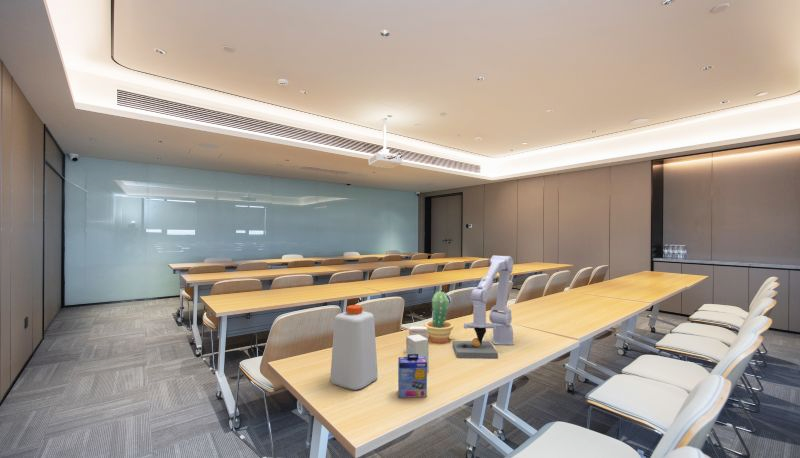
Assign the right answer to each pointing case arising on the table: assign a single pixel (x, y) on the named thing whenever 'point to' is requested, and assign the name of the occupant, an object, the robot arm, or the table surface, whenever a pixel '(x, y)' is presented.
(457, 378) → the table surface
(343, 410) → the table surface
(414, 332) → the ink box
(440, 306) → the potted cactus
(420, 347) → the small box
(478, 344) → the ball
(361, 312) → the plastic bottle
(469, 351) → the hole board
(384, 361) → the table surface
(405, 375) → the ink cartridge box
